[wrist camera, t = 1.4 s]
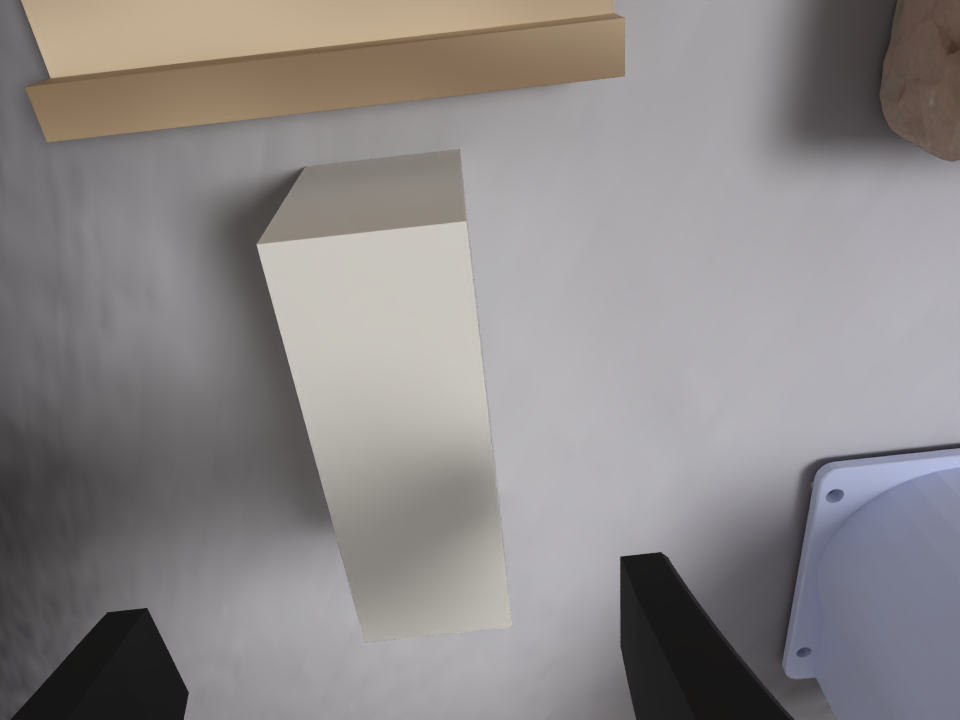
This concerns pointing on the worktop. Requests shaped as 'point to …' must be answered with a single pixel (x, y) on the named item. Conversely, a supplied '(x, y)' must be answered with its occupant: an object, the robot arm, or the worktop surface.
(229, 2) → the wooden base plate
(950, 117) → the brick
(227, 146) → the worktop surface
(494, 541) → the white rectangular block
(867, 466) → the robot arm
